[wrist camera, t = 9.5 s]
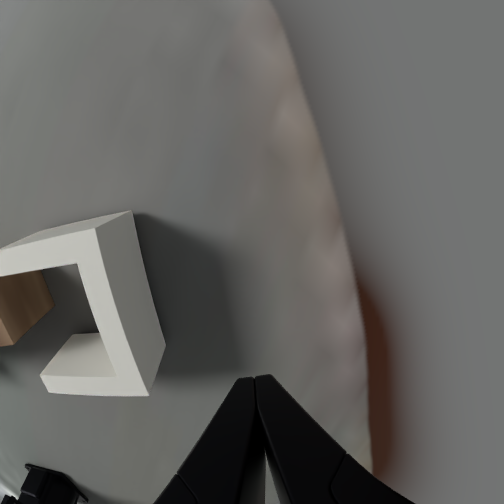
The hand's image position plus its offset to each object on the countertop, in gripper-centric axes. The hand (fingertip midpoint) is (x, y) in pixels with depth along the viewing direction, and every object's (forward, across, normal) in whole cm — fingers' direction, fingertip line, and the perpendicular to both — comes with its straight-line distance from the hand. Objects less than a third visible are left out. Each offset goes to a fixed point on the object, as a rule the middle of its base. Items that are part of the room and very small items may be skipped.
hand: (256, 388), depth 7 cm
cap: (+9, +8, 0) cm, 13 cm away
